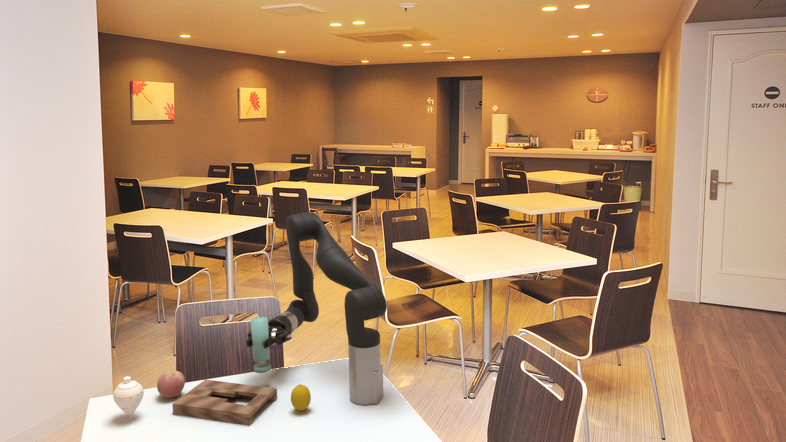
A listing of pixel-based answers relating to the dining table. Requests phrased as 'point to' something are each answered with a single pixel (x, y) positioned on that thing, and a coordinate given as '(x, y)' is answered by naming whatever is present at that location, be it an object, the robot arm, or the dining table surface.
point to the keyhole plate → (223, 401)
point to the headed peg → (260, 344)
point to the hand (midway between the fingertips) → (256, 344)
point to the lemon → (300, 397)
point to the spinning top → (128, 395)
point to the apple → (170, 383)
